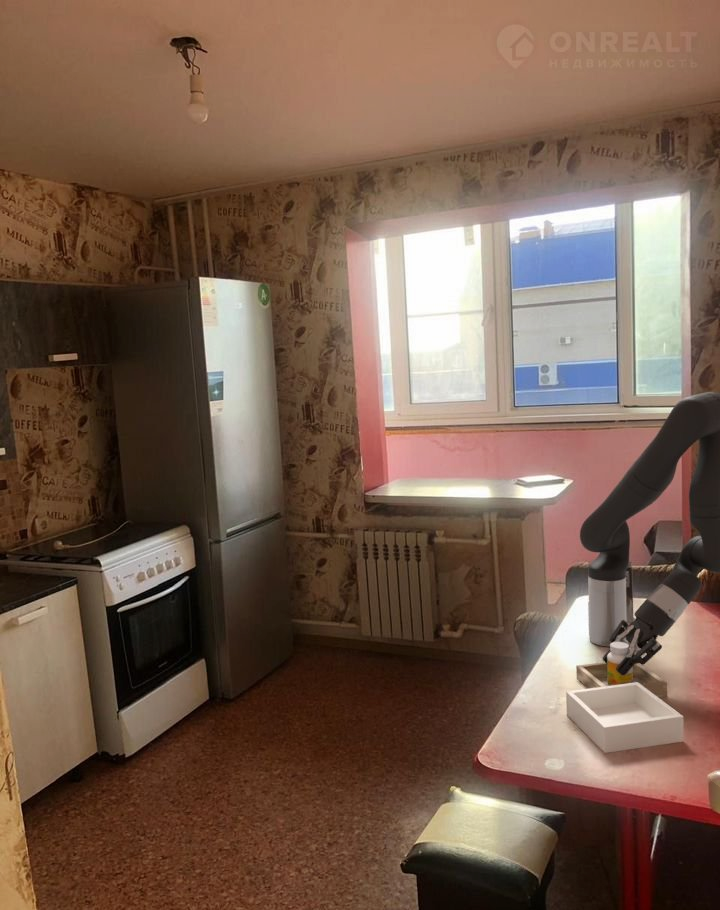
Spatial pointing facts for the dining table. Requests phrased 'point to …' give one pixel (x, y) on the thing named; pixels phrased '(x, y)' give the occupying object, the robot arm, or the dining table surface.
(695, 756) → the dining table surface
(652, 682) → the frame
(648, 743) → the bin
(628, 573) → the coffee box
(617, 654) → the supplement bottle
